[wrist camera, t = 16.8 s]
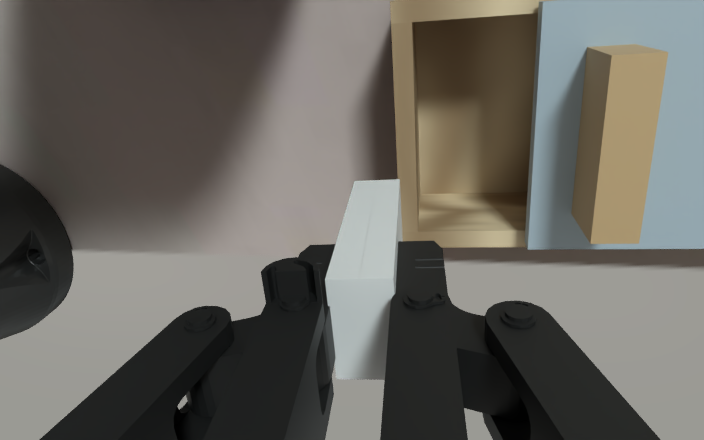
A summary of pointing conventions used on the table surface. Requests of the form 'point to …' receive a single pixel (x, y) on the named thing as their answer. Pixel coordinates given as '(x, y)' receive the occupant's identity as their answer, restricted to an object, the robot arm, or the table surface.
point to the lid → (617, 126)
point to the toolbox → (464, 118)
